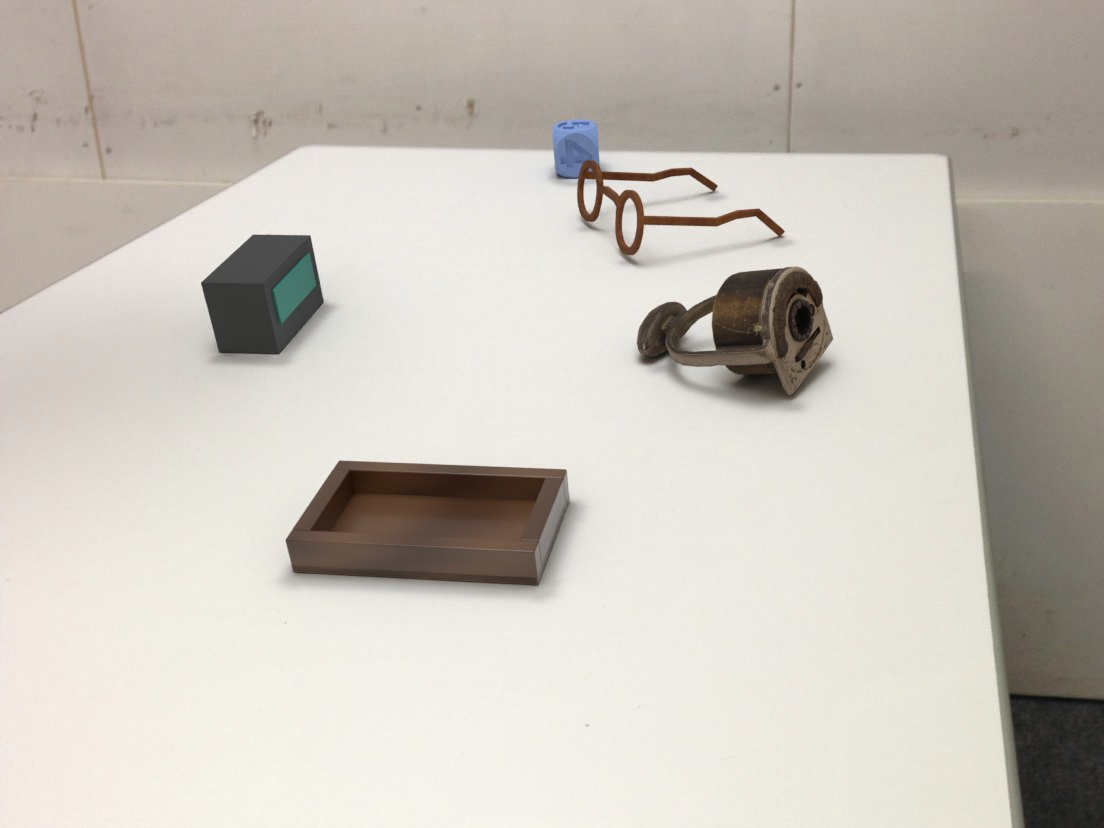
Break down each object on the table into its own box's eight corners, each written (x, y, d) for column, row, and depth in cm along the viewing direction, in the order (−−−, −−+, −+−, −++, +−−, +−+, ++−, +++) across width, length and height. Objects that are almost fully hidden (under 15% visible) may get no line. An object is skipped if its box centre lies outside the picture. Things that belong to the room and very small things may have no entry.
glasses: (574, 216, 107) (570, 155, 104) (715, 190, 111) (715, 130, 108) (635, 268, 97) (631, 202, 94) (787, 237, 101) (789, 173, 98)
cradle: (292, 572, 66) (284, 539, 65) (345, 490, 72) (338, 459, 71) (538, 585, 64) (534, 552, 63) (570, 500, 71) (567, 468, 69)
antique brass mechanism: (731, 344, 73) (861, 264, 76) (602, 261, 81) (724, 192, 84) (744, 440, 78) (865, 362, 81) (622, 354, 86) (736, 285, 89)
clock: (281, 353, 88) (264, 283, 85) (218, 352, 88) (200, 282, 85) (326, 301, 95) (312, 234, 92) (267, 300, 95) (252, 234, 92)
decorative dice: (600, 176, 115) (597, 130, 113) (555, 179, 115) (552, 133, 113) (599, 163, 118) (596, 117, 116) (556, 165, 118) (552, 120, 116)
